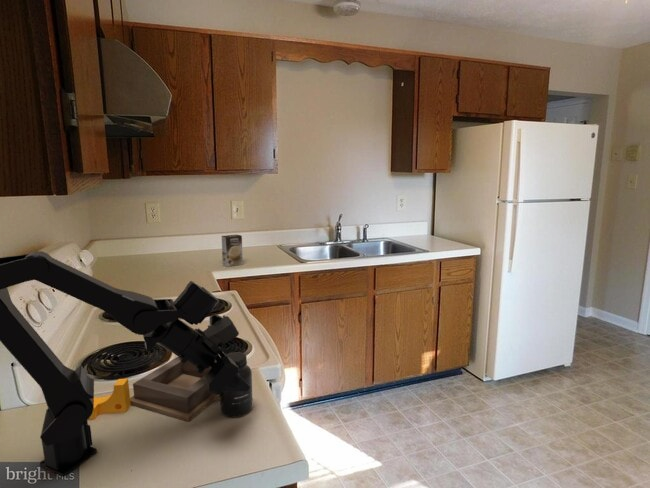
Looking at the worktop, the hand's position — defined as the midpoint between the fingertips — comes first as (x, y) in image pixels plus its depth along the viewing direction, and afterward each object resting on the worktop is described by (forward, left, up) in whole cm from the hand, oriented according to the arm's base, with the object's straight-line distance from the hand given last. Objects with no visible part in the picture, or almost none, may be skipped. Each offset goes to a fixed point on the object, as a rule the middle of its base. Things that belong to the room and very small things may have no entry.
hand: (241, 378), depth 85 cm
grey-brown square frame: (0, +16, -7) cm, 17 cm away
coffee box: (+109, +80, -7) cm, 135 cm away
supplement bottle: (-1, +1, -7) cm, 7 cm away
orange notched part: (-13, +28, -7) cm, 32 cm away
